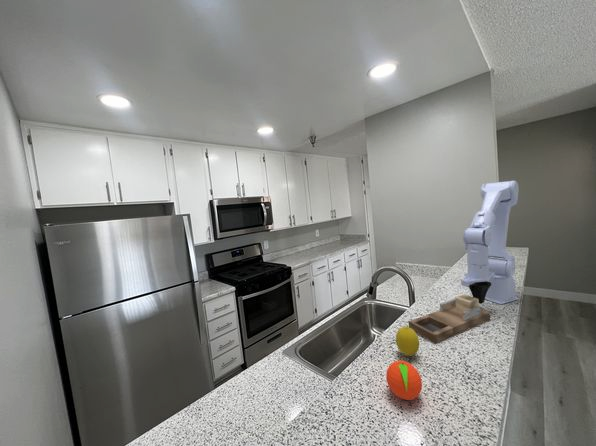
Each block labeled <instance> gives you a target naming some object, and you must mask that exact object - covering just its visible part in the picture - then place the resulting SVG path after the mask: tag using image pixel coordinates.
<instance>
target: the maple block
mask: <svg viewBox="0 0 596 446" xmlns="http://www.w3.org/2000/svg"><path fill="white" fill-rule="evenodd" d="M455 299H456V309H457V310H460V311H462V312H465V311H467V310H470V309H472V308H475V307H477V306H478V307H480V304H479V299H477V298H474V297H473V296H472V295H471V296H470V295H468V294H461V295H459V296H457V297H456V296H455Z"/></svg>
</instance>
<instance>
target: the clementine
mask: <svg viewBox="0 0 596 446" xmlns="http://www.w3.org/2000/svg"><path fill="white" fill-rule="evenodd" d="M385 376H386V377H385V378H386V382H387V386H388V388H389V389H390V391H391V392H392V393H393V394H394V395H395V396H396V397H397V398H399V399H402V400H404V401H411V400H414V399H416V398H418V397H419V395H420V393H421V392H422V389H423V382H422V377H421V375H420V373H419V371H418V369H416V368H415V367H414V365H412V364H411V363H409V362H408V361H405V360H396V361H394V362H392V363H391V364H389V366H388V367H387V370H386V375H385Z"/></svg>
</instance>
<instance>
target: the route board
mask: <svg viewBox="0 0 596 446" xmlns="http://www.w3.org/2000/svg"><path fill="white" fill-rule="evenodd" d="M488 321H491V312H490V311H487V310H483V309H482V308H481V315H479V316H477V317H475V318H472V319H470V320H467V321H463V318H462V311H460V310H457V309H456V307H454V308H452V309H449V310H446V311H444V312H441V311H440V309H439V310H437V311H434V312H431V313H428V314H426V315H422V316H420V317H417V318H415V319H411V320H409V321H408V327H409V328H411V329H413V330H414V331H415V332H416V334H417V336H420V337H422V338H424V339H425V340H427V341H429V342H431V343H433V344H435V345H436V344H438V343H441V342H442V341H445V340H447V339H449V338H452V337H454V336H456V335H459V334H461V333H463V332H465V331H468V330H470V329H472V328H475V327H477V326H479V325H482V324H484V323H486V322H488Z"/></svg>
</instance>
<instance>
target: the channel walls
mask: <svg viewBox="0 0 596 446" xmlns="http://www.w3.org/2000/svg"><path fill="white" fill-rule="evenodd" d="M454 307H456V298H453V299H450V300H447V301H444V302H441V303H439V310H440V311H441V312H444V311H446V310H449V309H452V308H454ZM481 309H482V307H481V306H479V307H478V306H477V307H475V308H472V309H470V310H467V311H465V312H462V318H463V321H467V320H470V319H472V318H475V317H477V316H479V315H481Z"/></svg>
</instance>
